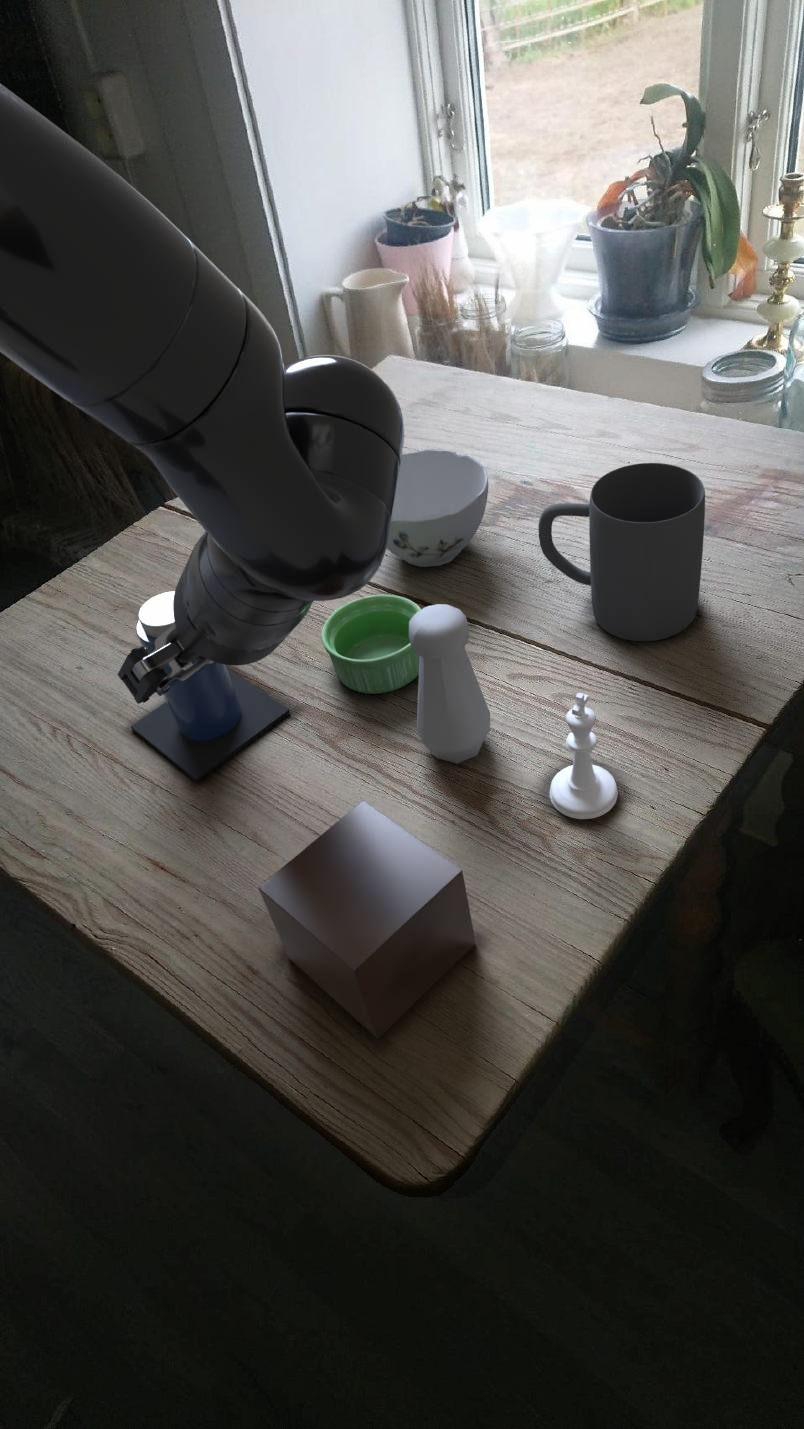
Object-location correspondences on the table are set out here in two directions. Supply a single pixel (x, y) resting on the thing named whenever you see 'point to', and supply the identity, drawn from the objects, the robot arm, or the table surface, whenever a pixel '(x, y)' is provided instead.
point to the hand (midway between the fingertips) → (202, 653)
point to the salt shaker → (447, 685)
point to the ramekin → (372, 643)
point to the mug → (639, 549)
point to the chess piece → (582, 771)
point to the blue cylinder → (191, 681)
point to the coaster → (212, 753)
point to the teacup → (436, 506)
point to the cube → (371, 915)
